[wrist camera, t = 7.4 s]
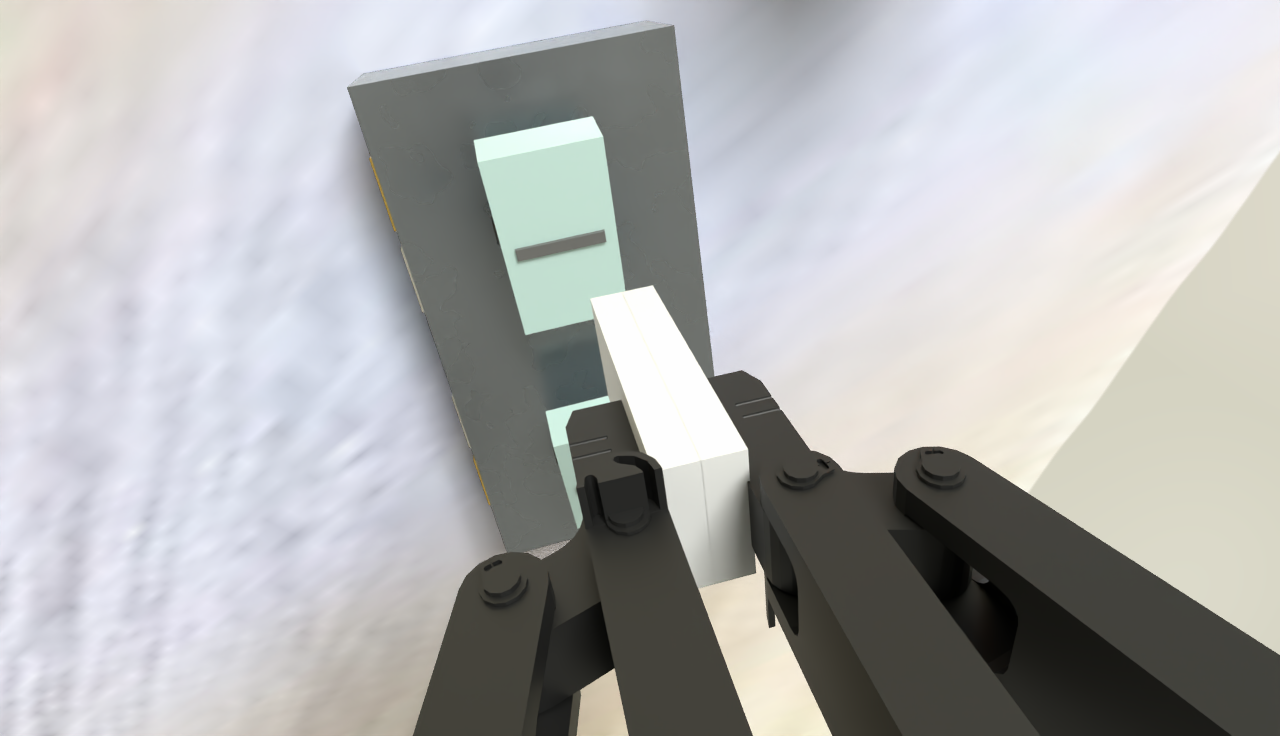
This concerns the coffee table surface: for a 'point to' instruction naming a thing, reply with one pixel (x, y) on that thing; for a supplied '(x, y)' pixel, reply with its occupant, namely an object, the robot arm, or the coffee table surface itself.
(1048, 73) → the coffee table surface
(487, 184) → the switch
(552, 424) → the switch
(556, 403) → the console
